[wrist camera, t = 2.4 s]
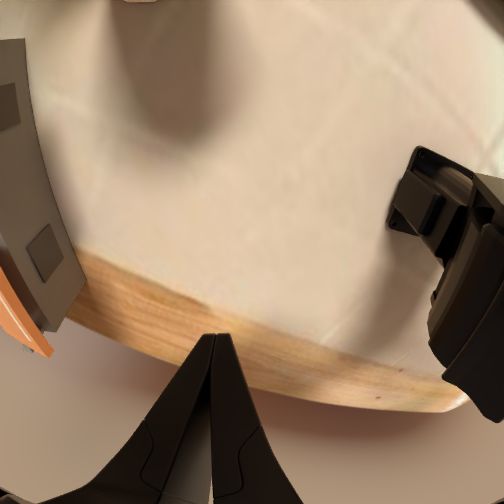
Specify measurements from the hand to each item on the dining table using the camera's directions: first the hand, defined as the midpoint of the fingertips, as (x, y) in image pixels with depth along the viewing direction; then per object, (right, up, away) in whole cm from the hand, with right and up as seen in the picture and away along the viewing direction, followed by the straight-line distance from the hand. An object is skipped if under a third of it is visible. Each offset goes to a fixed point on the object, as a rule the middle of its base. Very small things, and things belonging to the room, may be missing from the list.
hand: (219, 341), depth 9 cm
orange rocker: (-17, 0, +5) cm, 17 cm away
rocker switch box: (-19, +11, +7) cm, 23 cm away
